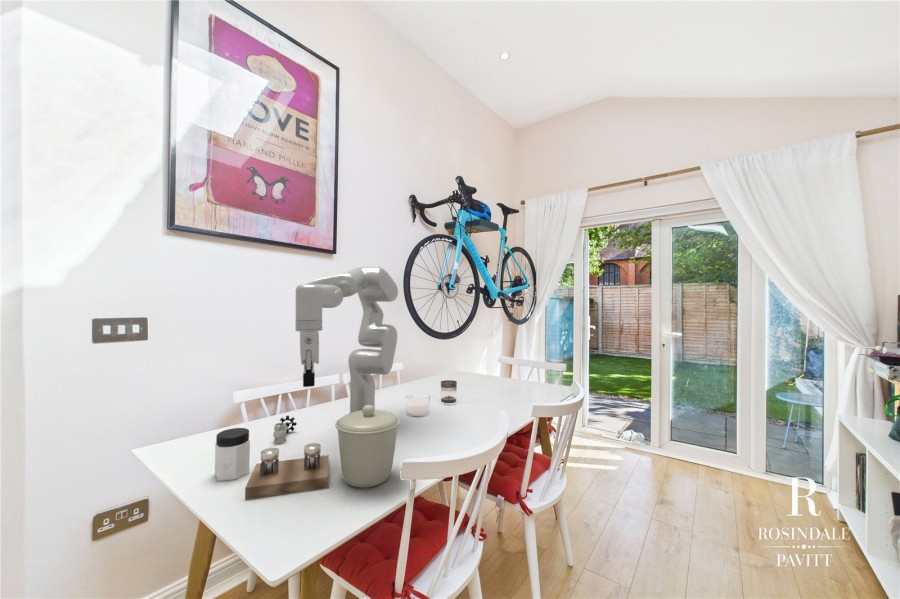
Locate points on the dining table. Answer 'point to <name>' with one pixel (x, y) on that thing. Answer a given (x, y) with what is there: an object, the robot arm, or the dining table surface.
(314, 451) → the knob
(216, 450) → the jar
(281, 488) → the mount board
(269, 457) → the knob
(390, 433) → the canister
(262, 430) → the dining table surface
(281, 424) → the valve
